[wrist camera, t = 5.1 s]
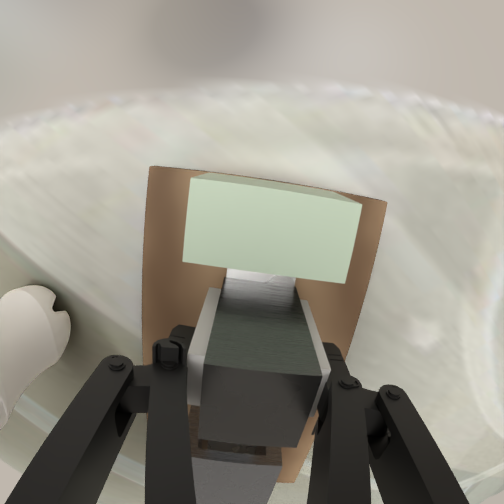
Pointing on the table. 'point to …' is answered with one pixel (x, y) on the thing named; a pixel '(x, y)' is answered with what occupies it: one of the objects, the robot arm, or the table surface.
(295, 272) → the socket block
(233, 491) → the sleeve
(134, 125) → the table surface
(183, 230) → the base board
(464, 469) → the table surface
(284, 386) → the rod
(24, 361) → the water bottle
